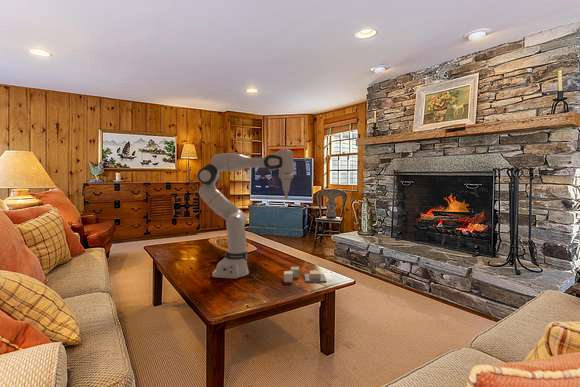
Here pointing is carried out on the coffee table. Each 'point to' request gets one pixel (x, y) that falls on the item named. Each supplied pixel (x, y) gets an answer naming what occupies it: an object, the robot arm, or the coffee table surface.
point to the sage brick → (295, 271)
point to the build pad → (307, 278)
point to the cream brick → (288, 276)
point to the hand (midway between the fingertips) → (286, 197)
